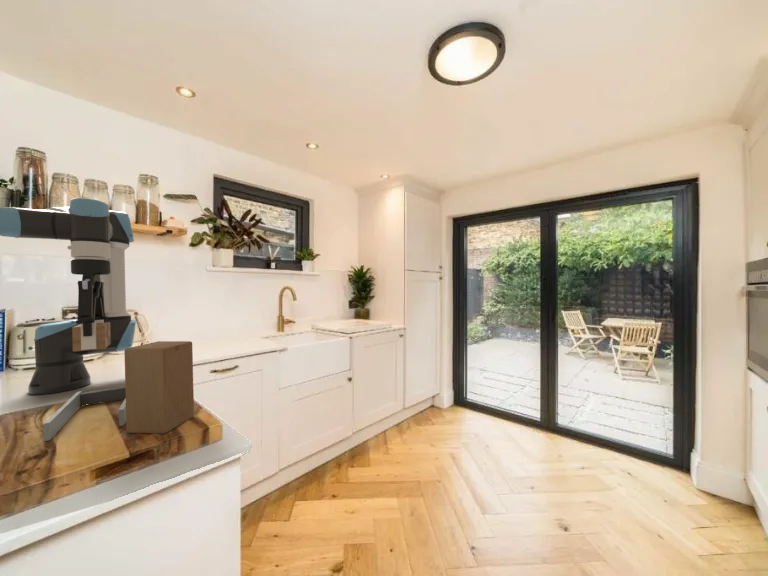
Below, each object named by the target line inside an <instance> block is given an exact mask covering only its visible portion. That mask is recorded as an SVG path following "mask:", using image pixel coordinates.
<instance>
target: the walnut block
mask: <svg viewBox="0 0 768 576" xmlns="http://www.w3.org/2000/svg"><path fill="white" fill-rule="evenodd" d="M72 339H73V352H74V351H85V350H81V324H80V325H77V326H74V327H72ZM96 342H97V348H96V349H105V348H107V347H108V346H109V345H110V344H111V338H110V322H109V323H96ZM96 349H87V350H96Z"/></svg>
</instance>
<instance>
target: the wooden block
mask: <svg viewBox="0 0 768 576" xmlns="http://www.w3.org/2000/svg"><path fill="white" fill-rule="evenodd" d="M123 351H124V381H125V384H124V385H125V391H126V422H125V424H126V433H131V434H134V433H135V434H160V435H161V434H162V435H163V434H166V433H168V432H170V431H172V430H174V429H175V428H177V427H179V426H180V425H182V424H183V423H185V422H187V421H189V420H190V419H191V418H193V417H194V415H195V404H194V403H195V402H194V401H195V398H194V396H195V395H194V361H193V360H194V359H193V357H194V356H193V342H192V341H188V340H187V341H186V340H183V341H181V340H178V341H176V340H175V341H172V340H171V341H165V340H164V341H162V340H161V341H160V340H159V341H155V342H150V343H144V344H141V345H136V346H132V347H131V348H127V349H125V350H123Z"/></svg>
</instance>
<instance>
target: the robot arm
mask: <svg viewBox="0 0 768 576" xmlns="http://www.w3.org/2000/svg"><path fill="white" fill-rule="evenodd" d="M130 219H131V217H130V215H129V214H128V213H127V212H125V211H119V210H117V211H116V210H111V209H110V208H109V204H108V203H106V201H103V200H99V199H95V198H90V197H89V198H87V197H74V198H71V199H70V200H69V206H61V207H47V208H44V209H33V208H23V207H22V208H21V207H15V206H9V207H8V206H0V237H7V238H16V239H21V238H22V239H42V240H46V239H47V240H58V241H62V240H63V241H70V245H68V246H67V247H66V248H67V250H70V257H71V258H73V259H71V260H70V273H71V274H73V275H80V276H81V275H82V278H81V280H78V281H77V287H78V289H77V290H78V292H77V293H78V297H77V298H78V299H77V300H78V301H77V304H78V305H77V318H76V319H69V320H63V321H57V322H49V323H45V324H41V325H39V326H37V327H36V328H35V330H34V339H33V341H34V357H35V358H34V359H35V360H34V361H35V369H34V373H33V375H32V377H31V379H30V382H29V384H28V386H27V387H28V388H27V391H28V394H29V395H47V394H56V393H61V392H66V391H70V390H71V391H72V390H76V389H79V388H82V387H85V386H87V385H89V384H91V375H90V373H89V371H88V369H87V367H86V365H85V363H84V356H86V355H96V354H106V353H114V352H115V353H117V352H121V351H122V352H123V351H125V349H127V348H131V347H133V343H134V338H135V332H136V323H137V320H136V319H133V318H132V314H130V313H129V312H127V305H126V304H127V303H126V301H127V299H126V297H127V296H126V293H127V292H126V260H125V258H126V255H125V251H126V249H129V248H130V243H134V241H135V238H134V235H133V234H134V233H133V229H132V224H131V220H130ZM109 322H110V338H111V344H110V345H109V346H108V347H107V348H105V349H96V348H97V342H96V323H109ZM80 324H81V350H85V351H74V352H73V339H72V327H74V326H77V325H80ZM87 349H96V350H87Z"/></svg>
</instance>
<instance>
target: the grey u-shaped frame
mask: <svg viewBox="0 0 768 576" xmlns="http://www.w3.org/2000/svg"><path fill="white" fill-rule="evenodd" d="M108 401H111V402H116V401H122V404H121V405H120V406H119V409H118V427H122V426H125V424H126V391H125V386H118V387H112V388H104V389H98V390H91V391H85V392H83V390H80V391H76V392H75V393H74V394H73V395H72V396H70V398H69V399H68V400H67V401H65V403H64V404H63V405H62V406H60V408H59V409H57V410H56V411H55V412H54V413H53V414H51V416H50V417H48V419H46V420H45V421H44V422H43V442H47V441H51V440H52V439H53V438H54V436H55V435H57V433H58V432H59V431H60V430H61V429H62V428H63V427H64V426H65V424H66V423H67V422H68V421H69V420H70V419H71V417H72V416H73V415H74V414H75V413H77V411H78V410H79V409H80V408H81V407H83V406H82V405H86V404H93V405H95V404H94V403H99V402H105V403H109V402H108ZM99 404H100V403H99ZM80 406H81V407H80ZM78 408H79V409H78ZM77 409H78V410H77ZM76 410H77V411H76ZM61 427H62V428H61Z"/></svg>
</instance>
